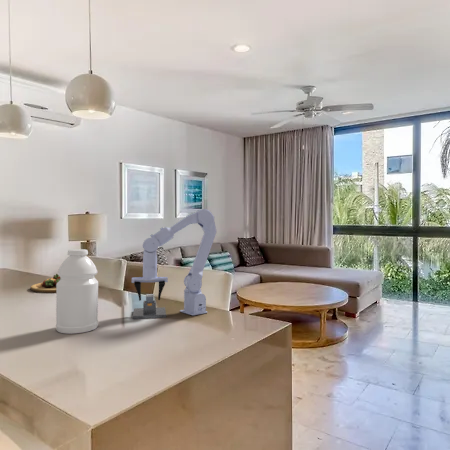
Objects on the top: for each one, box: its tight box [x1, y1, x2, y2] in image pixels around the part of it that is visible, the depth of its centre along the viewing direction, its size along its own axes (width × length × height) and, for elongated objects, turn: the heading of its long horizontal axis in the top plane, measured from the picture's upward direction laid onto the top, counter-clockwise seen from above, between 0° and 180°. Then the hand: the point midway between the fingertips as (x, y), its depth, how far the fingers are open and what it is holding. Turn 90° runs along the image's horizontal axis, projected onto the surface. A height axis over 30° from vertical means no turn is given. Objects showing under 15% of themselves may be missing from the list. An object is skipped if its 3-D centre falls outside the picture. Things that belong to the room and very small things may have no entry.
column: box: [145, 293, 155, 303], centre depth 152 cm, size 3×3×7 cm
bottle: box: [55, 248, 99, 335], centre depth 130 cm, size 14×14×28 cm
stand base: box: [132, 299, 167, 320], centre depth 152 cm, size 13×13×5 cm
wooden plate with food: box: [30, 273, 61, 294], centre depth 212 cm, size 32×32×8 cm
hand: (149, 299), depth 152 cm, fingers open, 7 cm apart
